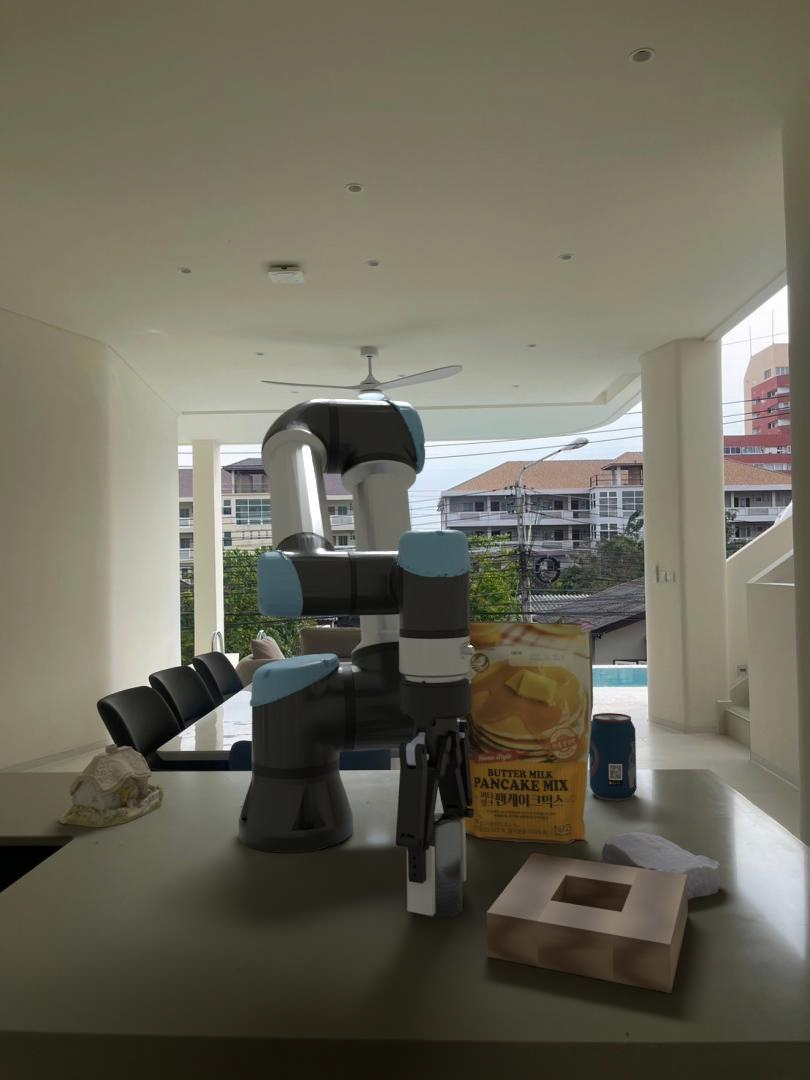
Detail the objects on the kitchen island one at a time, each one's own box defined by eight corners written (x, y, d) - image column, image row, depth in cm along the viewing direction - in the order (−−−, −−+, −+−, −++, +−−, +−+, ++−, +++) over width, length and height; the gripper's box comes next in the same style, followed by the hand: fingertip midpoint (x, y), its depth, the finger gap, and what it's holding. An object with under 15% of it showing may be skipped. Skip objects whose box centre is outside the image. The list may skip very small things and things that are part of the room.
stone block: (658, 871, 98) (592, 867, 94) (664, 831, 98) (599, 826, 94) (733, 913, 87) (662, 912, 83) (740, 869, 87) (670, 865, 83)
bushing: (406, 913, 82) (405, 823, 83) (425, 894, 87) (424, 809, 87) (452, 921, 80) (451, 829, 81) (469, 901, 85) (467, 814, 85)
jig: (487, 956, 73) (486, 912, 73) (533, 890, 88) (532, 853, 88) (671, 993, 67) (670, 944, 67) (687, 914, 81) (687, 874, 81)
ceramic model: (100, 833, 108) (100, 759, 109) (45, 821, 114) (45, 750, 114) (176, 805, 121) (175, 738, 121) (123, 795, 126) (122, 731, 126)
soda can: (588, 788, 126) (586, 711, 127) (633, 789, 125) (631, 712, 126) (592, 801, 119) (590, 720, 120) (640, 802, 119) (638, 721, 119)
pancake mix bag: (454, 821, 111) (452, 619, 112) (596, 829, 107) (592, 619, 108) (447, 838, 104) (444, 623, 105) (597, 847, 100) (593, 623, 101)
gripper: (430, 694, 73) (433, 945, 72) (499, 665, 92) (502, 864, 92) (357, 689, 76) (359, 931, 76) (439, 662, 95) (441, 855, 95)
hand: (438, 894), depth 84 cm, fingers open, 8 cm apart
